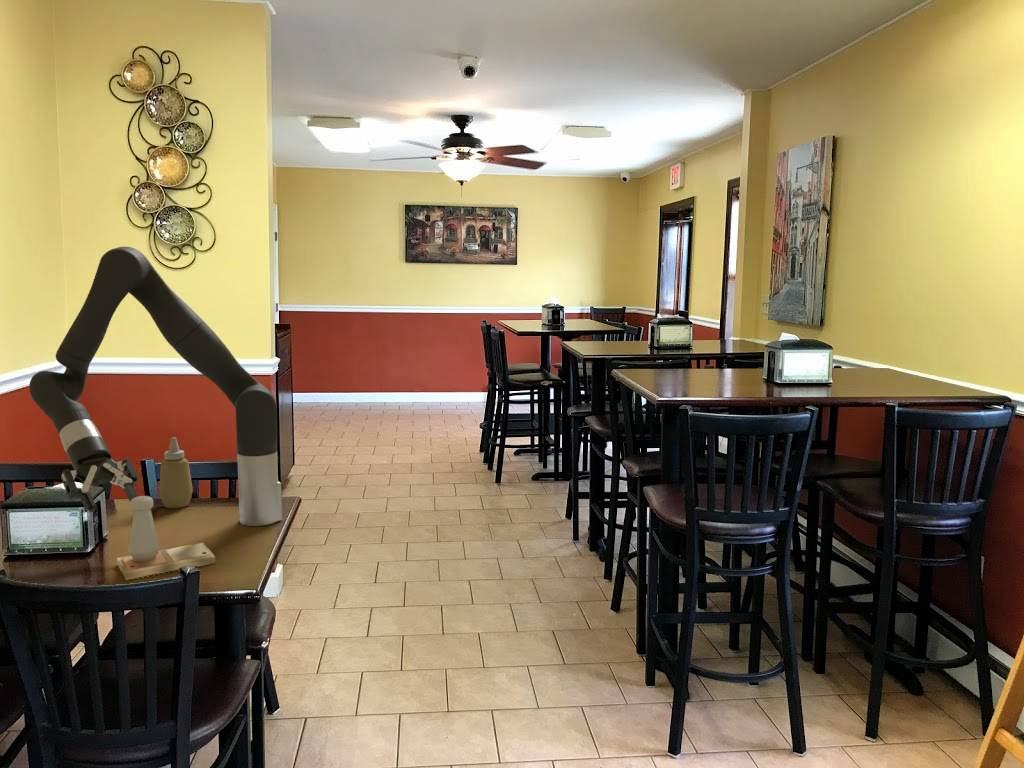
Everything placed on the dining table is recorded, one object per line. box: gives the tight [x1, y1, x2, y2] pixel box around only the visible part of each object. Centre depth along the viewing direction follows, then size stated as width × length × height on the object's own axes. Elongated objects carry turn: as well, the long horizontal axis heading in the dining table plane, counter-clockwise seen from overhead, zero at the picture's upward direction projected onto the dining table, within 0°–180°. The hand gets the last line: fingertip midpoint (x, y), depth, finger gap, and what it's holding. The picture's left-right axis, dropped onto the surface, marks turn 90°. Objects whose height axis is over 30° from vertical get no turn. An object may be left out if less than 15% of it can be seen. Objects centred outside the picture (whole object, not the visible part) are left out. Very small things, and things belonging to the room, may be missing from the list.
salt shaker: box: [128, 495, 160, 562], centre depth 159 cm, size 6×6×13 cm
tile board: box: [116, 542, 216, 579], centre depth 162 cm, size 17×10×2 cm, turn 125°
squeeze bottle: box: [158, 437, 194, 509], centre depth 201 cm, size 8×8×18 cm
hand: (114, 505), depth 165 cm, fingers open, 8 cm apart
